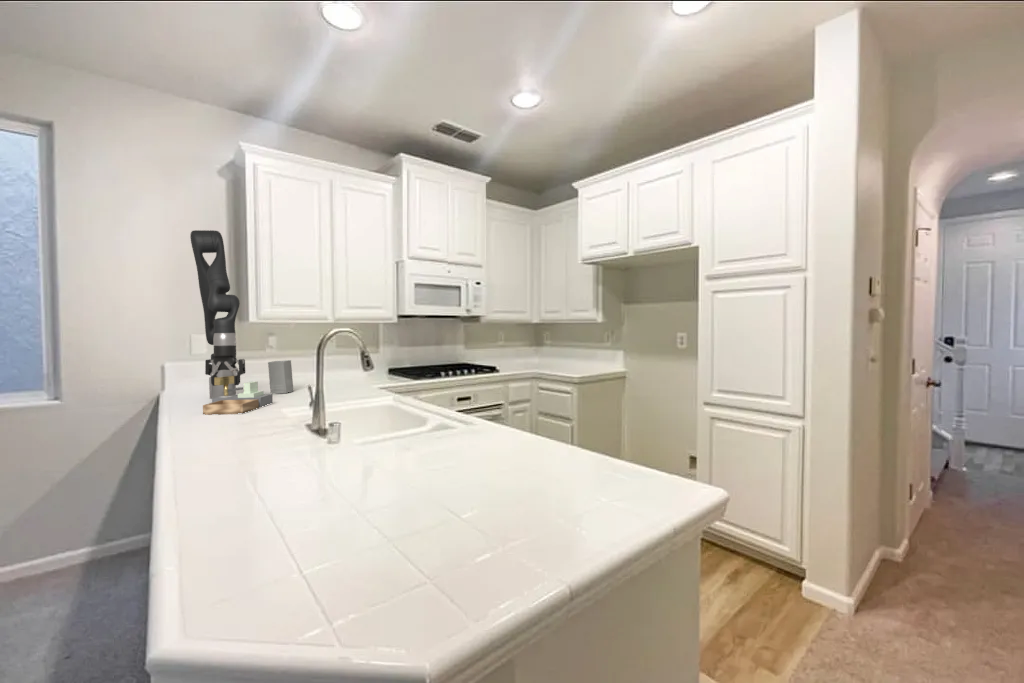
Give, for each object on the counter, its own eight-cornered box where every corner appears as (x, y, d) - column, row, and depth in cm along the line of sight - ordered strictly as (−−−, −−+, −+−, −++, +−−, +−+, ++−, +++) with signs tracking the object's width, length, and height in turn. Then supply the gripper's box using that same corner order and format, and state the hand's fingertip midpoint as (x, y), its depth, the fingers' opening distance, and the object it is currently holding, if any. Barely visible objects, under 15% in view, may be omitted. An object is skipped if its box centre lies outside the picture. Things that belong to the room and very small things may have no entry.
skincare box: (293, 392, 217) (293, 360, 216) (284, 394, 209) (284, 361, 209) (277, 391, 217) (277, 360, 217) (268, 394, 210) (267, 361, 210)
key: (219, 397, 170) (219, 377, 170) (214, 396, 171) (214, 377, 171) (244, 393, 182) (243, 374, 181) (239, 392, 182) (238, 374, 182)
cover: (237, 397, 171) (237, 383, 171) (248, 394, 179) (248, 381, 179) (253, 397, 172) (253, 383, 171) (263, 394, 180) (263, 381, 179)
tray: (203, 414, 157) (202, 405, 157) (221, 409, 169) (221, 400, 169) (242, 413, 158) (242, 404, 158) (258, 408, 170) (258, 399, 170)
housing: (212, 408, 169) (212, 398, 169) (227, 404, 179) (226, 394, 179) (260, 407, 171) (260, 397, 171) (272, 403, 181) (272, 393, 181)
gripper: (200, 345, 170) (201, 386, 170) (238, 344, 171) (239, 386, 171) (211, 344, 177) (212, 384, 178) (248, 344, 178) (249, 383, 179)
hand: (225, 385), depth 174 cm, fingers open, 8 cm apart
